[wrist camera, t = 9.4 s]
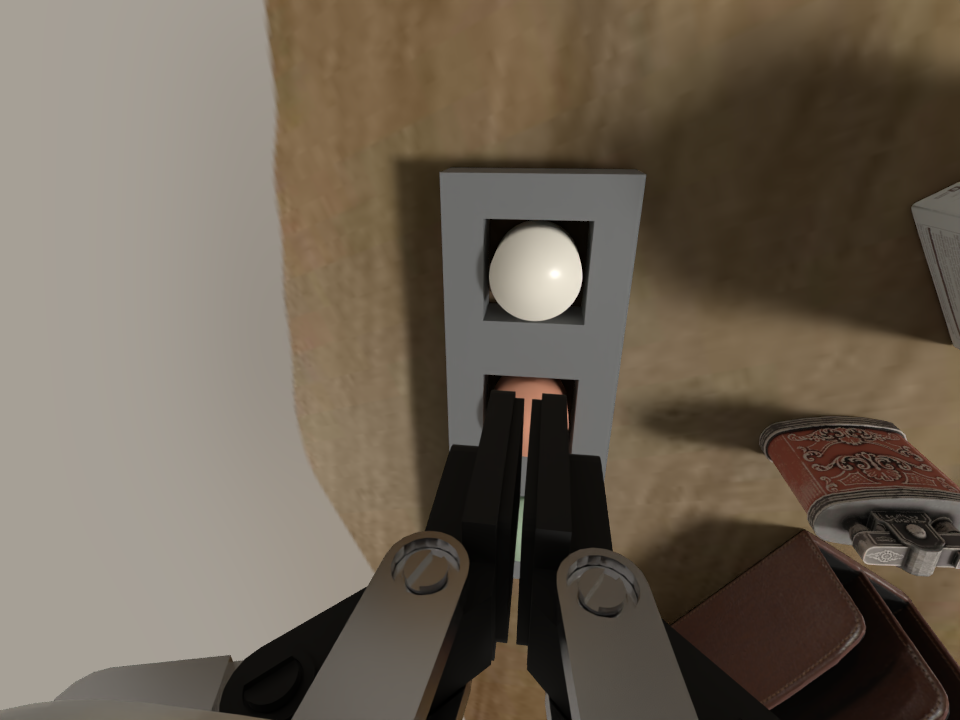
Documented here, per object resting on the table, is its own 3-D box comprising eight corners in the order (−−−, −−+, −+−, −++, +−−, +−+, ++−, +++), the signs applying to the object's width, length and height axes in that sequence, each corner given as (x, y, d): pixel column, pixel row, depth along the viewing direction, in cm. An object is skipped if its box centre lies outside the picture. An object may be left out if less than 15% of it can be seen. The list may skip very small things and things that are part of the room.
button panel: (450, 167, 27) (439, 172, 24) (636, 169, 26) (646, 174, 23) (460, 541, 39) (453, 571, 37) (586, 553, 38) (589, 586, 36)
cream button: (495, 219, 27) (489, 229, 25) (583, 220, 27) (586, 232, 24) (494, 301, 29) (488, 319, 27) (575, 304, 29) (578, 323, 26)
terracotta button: (493, 363, 31) (488, 386, 29) (570, 368, 31) (571, 391, 28) (492, 427, 33) (487, 453, 31) (564, 432, 33) (565, 459, 30)
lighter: (755, 460, 33) (832, 587, 24) (763, 417, 31) (848, 534, 22) (890, 460, 31) (1025, 594, 23) (904, 415, 30) (1054, 539, 21)
